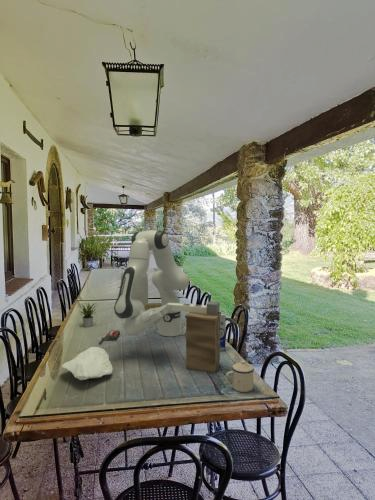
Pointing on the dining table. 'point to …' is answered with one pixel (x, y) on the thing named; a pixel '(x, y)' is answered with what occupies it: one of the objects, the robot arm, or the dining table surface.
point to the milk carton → (222, 332)
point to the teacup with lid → (242, 376)
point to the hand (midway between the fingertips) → (173, 306)
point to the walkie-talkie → (111, 336)
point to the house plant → (87, 315)
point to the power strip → (196, 308)
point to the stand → (202, 341)
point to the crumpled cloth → (90, 364)
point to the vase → (140, 288)
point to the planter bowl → (152, 306)
